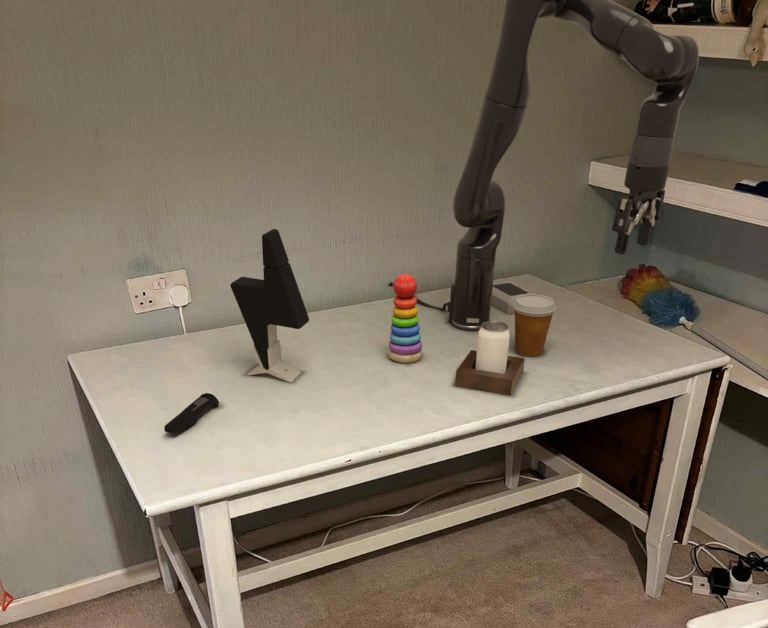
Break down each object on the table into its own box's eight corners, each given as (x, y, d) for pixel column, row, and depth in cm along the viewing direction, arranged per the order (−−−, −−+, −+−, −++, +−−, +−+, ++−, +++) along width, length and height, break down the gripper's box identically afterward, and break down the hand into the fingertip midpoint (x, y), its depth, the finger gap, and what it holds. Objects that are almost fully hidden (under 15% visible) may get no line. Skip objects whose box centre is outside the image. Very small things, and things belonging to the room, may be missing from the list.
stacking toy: (408, 347, 179) (410, 266, 169) (429, 359, 174) (433, 276, 164) (380, 355, 176) (381, 273, 165) (401, 367, 170) (404, 283, 160)
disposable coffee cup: (553, 347, 181) (561, 297, 174) (543, 362, 173) (550, 310, 167) (514, 340, 184) (520, 291, 177) (502, 354, 177) (508, 303, 170)
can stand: (454, 386, 163) (456, 370, 161) (469, 364, 172) (471, 349, 170) (510, 395, 159) (512, 380, 157) (523, 373, 169) (524, 358, 167)
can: (503, 387, 162) (509, 332, 156) (472, 384, 164) (477, 330, 157) (505, 374, 168) (511, 321, 161) (476, 371, 169) (480, 319, 162)
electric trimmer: (159, 437, 143) (157, 422, 141) (204, 402, 155) (203, 387, 153) (177, 441, 142) (174, 426, 140) (221, 405, 154) (219, 391, 152)
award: (312, 374, 167) (306, 231, 150) (302, 384, 162) (295, 238, 145) (249, 364, 170) (236, 223, 154) (238, 373, 166) (223, 230, 149)
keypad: (508, 277, 211) (540, 294, 200) (507, 291, 213) (538, 308, 202) (478, 282, 208) (509, 299, 197) (477, 295, 210) (508, 313, 199)
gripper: (649, 153, 150) (632, 238, 159) (611, 162, 142) (595, 251, 151) (686, 159, 146) (665, 246, 155) (648, 169, 137) (629, 260, 147)
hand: (631, 249), depth 153 cm, fingers open, 8 cm apart
